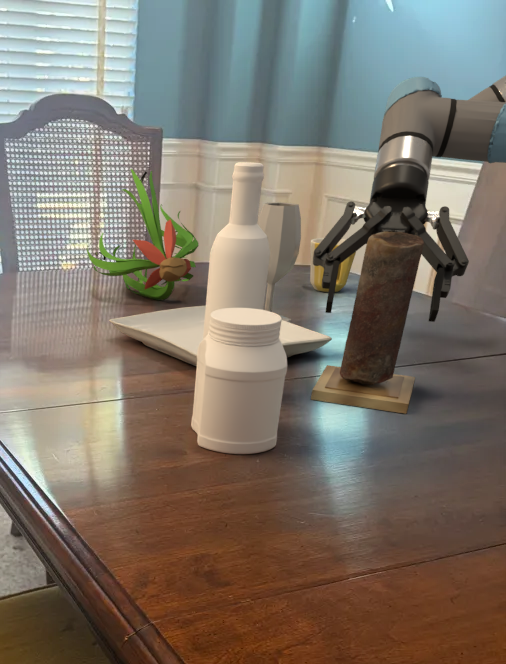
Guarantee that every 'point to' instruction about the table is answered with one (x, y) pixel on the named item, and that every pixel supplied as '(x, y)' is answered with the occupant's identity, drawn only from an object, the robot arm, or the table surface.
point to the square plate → (201, 333)
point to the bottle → (239, 249)
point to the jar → (239, 382)
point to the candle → (381, 307)
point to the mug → (318, 270)
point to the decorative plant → (152, 250)
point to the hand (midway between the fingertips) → (380, 311)
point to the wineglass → (280, 242)
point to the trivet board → (364, 391)
